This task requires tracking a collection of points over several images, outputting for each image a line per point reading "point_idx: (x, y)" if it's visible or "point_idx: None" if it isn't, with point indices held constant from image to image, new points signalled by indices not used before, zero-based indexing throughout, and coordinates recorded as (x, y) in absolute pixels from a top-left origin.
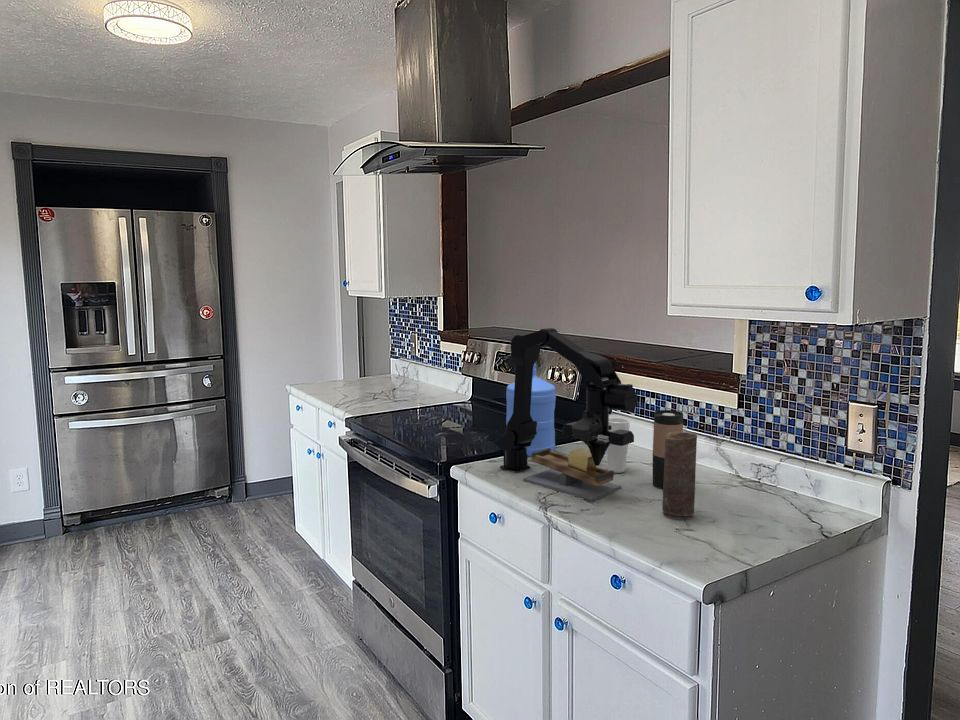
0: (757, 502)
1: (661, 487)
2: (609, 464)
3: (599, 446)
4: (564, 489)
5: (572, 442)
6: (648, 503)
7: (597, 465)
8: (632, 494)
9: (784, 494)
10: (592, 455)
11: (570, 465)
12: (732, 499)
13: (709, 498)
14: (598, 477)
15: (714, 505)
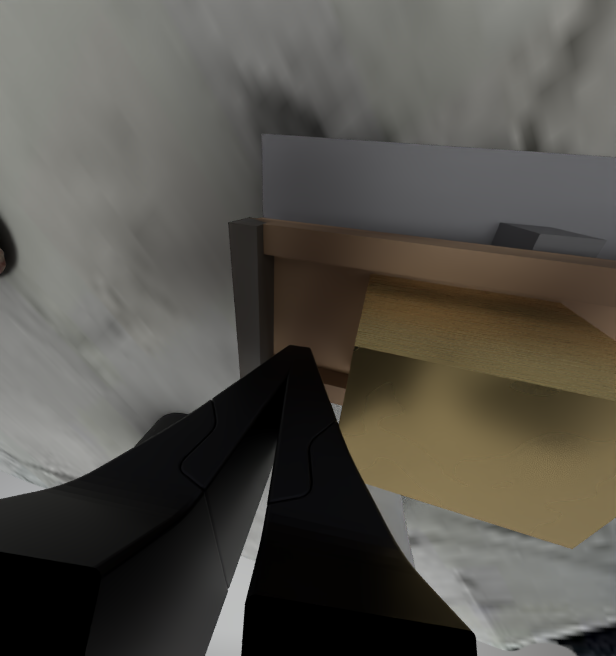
0: (2, 419)
1: (177, 416)
2: (386, 505)
3: (1, 508)
4: (488, 156)
5: (592, 627)
6: (102, 275)
7: (287, 346)
8: (202, 331)
9: (28, 470)
10: (314, 399)
11: (551, 313)
12: (36, 415)
13: (62, 401)
14: (230, 222)
15: (13, 363)
